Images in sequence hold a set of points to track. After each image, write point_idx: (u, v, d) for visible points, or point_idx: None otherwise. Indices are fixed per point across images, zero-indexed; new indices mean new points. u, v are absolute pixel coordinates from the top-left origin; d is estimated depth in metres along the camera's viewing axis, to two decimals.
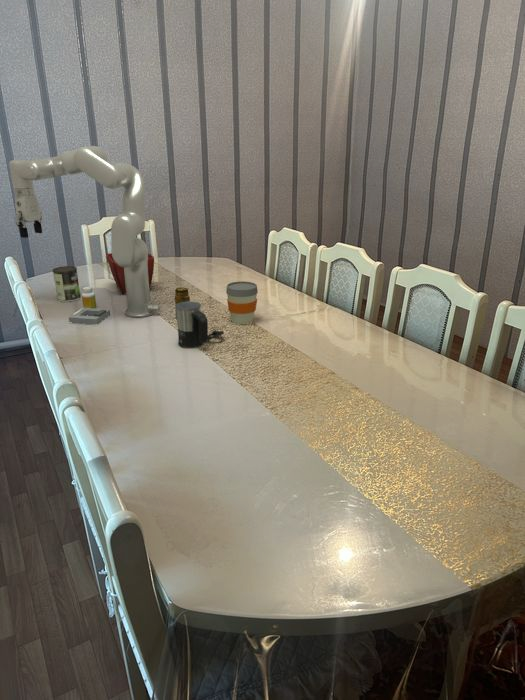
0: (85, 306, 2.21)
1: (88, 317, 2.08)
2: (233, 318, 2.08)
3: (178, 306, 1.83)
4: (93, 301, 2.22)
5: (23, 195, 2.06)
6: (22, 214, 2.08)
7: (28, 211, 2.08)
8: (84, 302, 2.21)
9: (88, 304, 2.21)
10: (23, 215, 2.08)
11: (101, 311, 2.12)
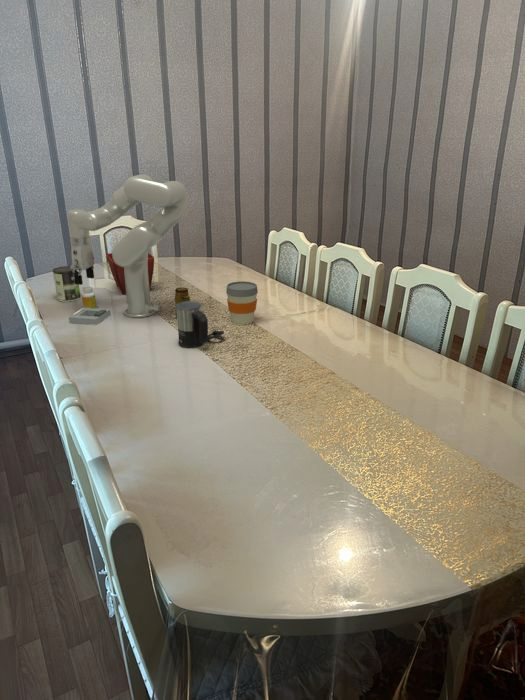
0: (85, 306, 2.21)
1: (88, 317, 2.08)
2: (233, 318, 2.08)
3: (178, 306, 1.83)
4: (93, 301, 2.22)
5: (80, 244, 2.10)
6: (78, 262, 2.11)
7: (84, 259, 2.12)
8: (84, 302, 2.21)
9: (88, 304, 2.21)
10: (79, 263, 2.11)
11: (101, 311, 2.12)
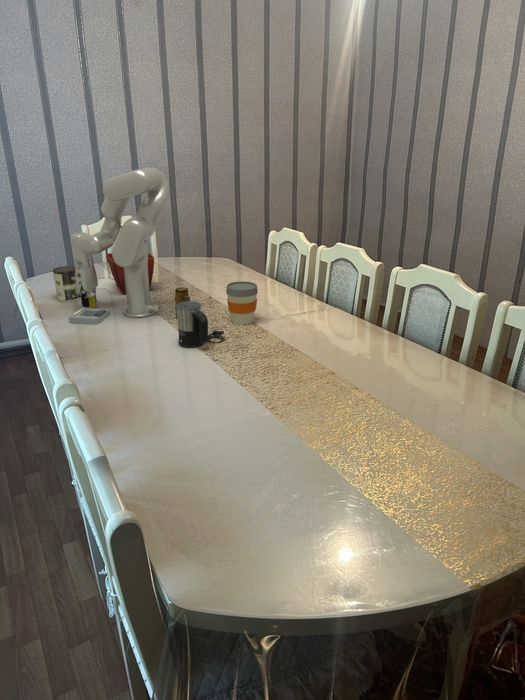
0: None
1: (88, 317, 2.08)
2: (233, 318, 2.08)
3: (178, 306, 1.83)
4: (93, 301, 2.22)
5: (83, 266, 2.13)
6: (82, 284, 2.15)
7: (88, 281, 2.16)
8: None
9: None
10: (84, 288, 2.15)
11: (101, 311, 2.12)
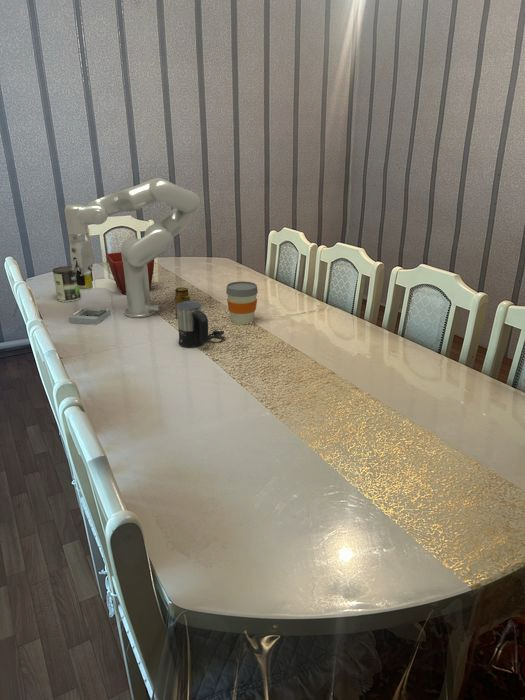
0: None
1: (88, 317, 2.08)
2: (233, 318, 2.08)
3: (179, 306, 1.83)
4: (89, 279, 2.06)
5: (78, 241, 1.97)
6: (77, 261, 1.99)
7: (83, 257, 2.00)
8: None
9: None
10: (79, 264, 1.99)
11: (101, 311, 2.12)
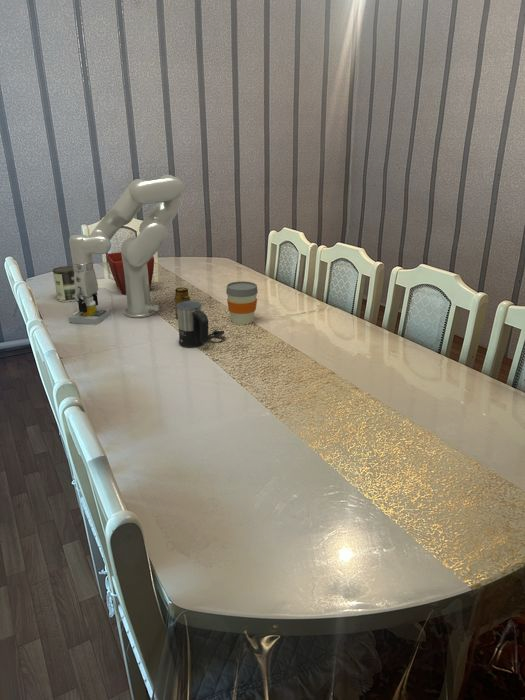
0: (85, 315, 2.11)
1: (88, 317, 2.08)
2: (233, 318, 2.08)
3: (179, 306, 1.83)
4: (94, 310, 2.11)
5: (83, 271, 2.02)
6: (81, 289, 2.03)
7: (87, 286, 2.04)
8: None
9: (89, 313, 2.10)
10: (82, 291, 2.03)
11: (101, 311, 2.12)
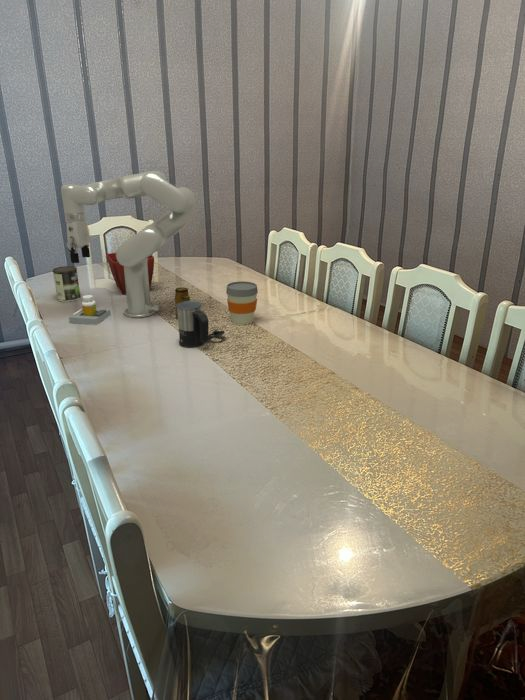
0: (85, 315, 2.11)
1: (88, 317, 2.08)
2: (233, 318, 2.08)
3: (179, 306, 1.84)
4: (94, 310, 2.11)
5: (75, 220, 2.02)
6: (74, 239, 2.03)
7: (80, 236, 2.04)
8: (84, 311, 2.10)
9: (89, 313, 2.10)
10: (75, 240, 2.03)
11: (101, 311, 2.12)
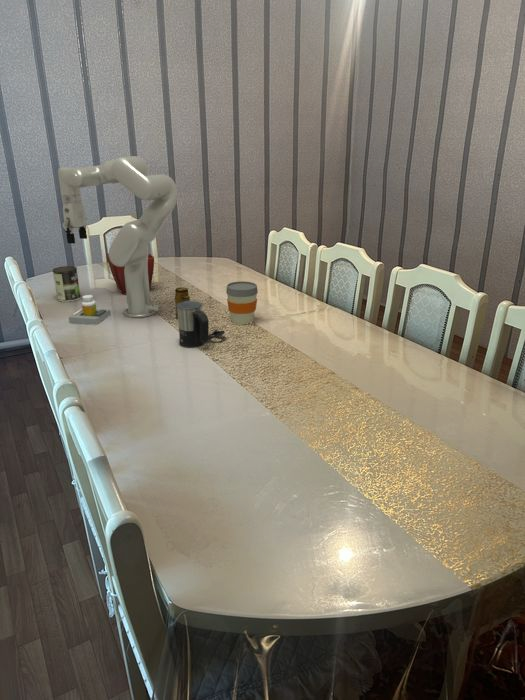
0: (85, 315, 2.11)
1: (88, 317, 2.08)
2: (233, 318, 2.08)
3: (179, 306, 1.84)
4: (94, 310, 2.11)
5: (71, 202, 2.10)
6: (70, 220, 2.11)
7: (75, 217, 2.12)
8: (84, 311, 2.10)
9: (89, 313, 2.10)
10: (71, 221, 2.11)
11: (101, 311, 2.12)
